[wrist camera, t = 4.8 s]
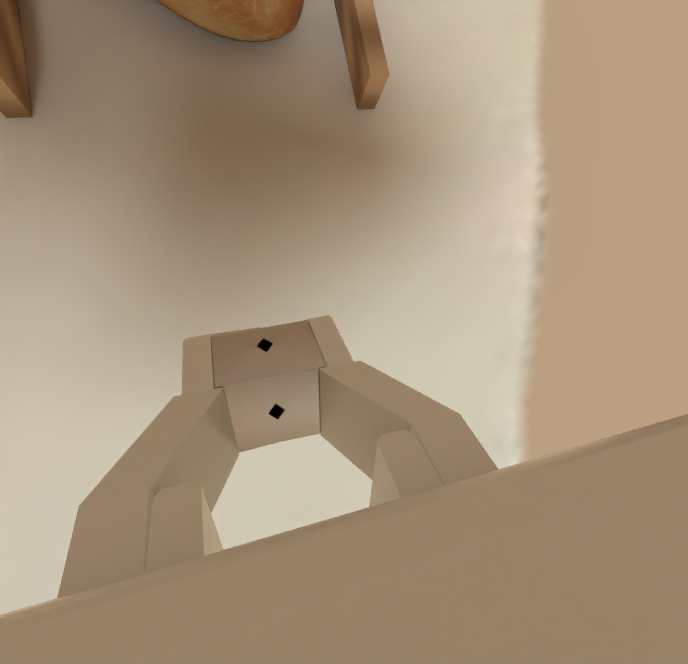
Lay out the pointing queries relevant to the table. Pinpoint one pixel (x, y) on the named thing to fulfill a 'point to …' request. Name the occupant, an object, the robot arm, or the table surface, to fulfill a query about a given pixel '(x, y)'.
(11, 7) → the box
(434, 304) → the table surface
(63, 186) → the table surface
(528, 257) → the table surface
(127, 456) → the robot arm
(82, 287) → the table surface
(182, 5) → the bread roll
